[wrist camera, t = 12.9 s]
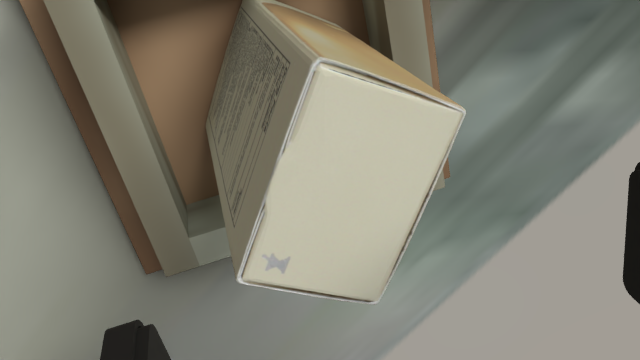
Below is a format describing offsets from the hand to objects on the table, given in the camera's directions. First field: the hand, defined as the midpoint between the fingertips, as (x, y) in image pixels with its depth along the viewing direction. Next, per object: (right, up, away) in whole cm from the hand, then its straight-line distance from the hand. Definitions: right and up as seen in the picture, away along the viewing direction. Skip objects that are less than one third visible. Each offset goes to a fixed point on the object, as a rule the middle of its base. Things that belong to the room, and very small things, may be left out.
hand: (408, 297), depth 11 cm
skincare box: (-4, +7, +14) cm, 16 cm away
